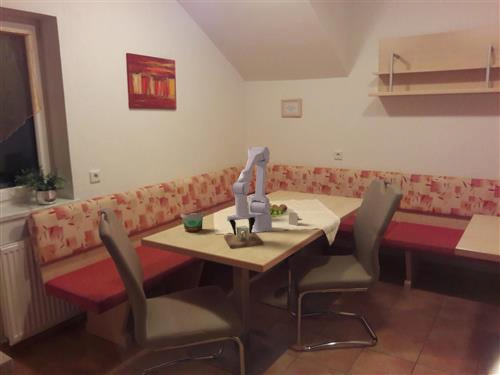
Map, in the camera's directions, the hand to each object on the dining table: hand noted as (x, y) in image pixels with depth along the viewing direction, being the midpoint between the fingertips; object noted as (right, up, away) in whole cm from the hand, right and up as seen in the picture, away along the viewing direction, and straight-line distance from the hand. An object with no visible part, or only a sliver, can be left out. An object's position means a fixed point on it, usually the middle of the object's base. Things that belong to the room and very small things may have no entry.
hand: (242, 233), depth 203 cm
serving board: (0, -4, +1) cm, 4 cm away
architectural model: (+28, +2, +26) cm, 38 cm away
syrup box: (+6, +4, +38) cm, 38 cm away
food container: (-26, -1, +20) cm, 33 cm away
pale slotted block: (0, -2, +1) cm, 2 cm away
